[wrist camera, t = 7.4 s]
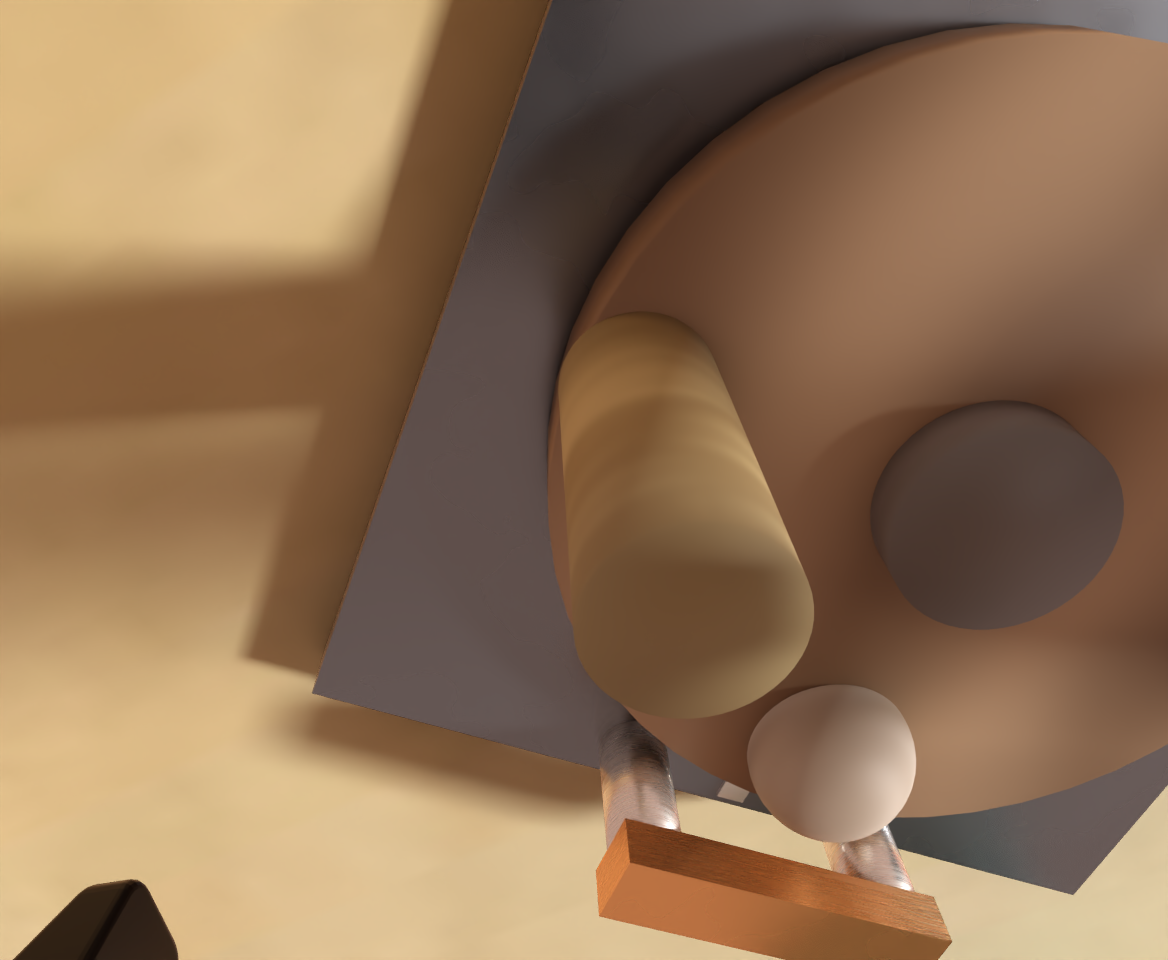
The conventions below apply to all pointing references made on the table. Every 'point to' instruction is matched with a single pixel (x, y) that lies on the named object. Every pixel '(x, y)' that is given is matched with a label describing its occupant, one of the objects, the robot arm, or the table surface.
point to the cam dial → (888, 435)
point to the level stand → (520, 498)
